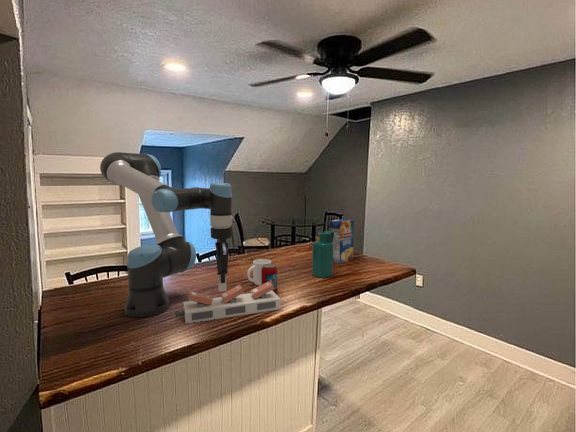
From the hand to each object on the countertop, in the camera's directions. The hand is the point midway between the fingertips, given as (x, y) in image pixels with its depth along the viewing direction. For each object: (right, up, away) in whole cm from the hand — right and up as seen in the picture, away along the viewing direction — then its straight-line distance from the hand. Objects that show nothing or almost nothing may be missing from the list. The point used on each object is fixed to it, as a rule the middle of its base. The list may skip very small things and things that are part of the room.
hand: (222, 290), depth 118 cm
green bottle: (+42, -3, +45) cm, 62 cm away
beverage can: (+16, -6, +21) cm, 27 cm away
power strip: (+2, -8, +1) cm, 8 cm away
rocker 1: (-7, -2, -3) cm, 8 cm away
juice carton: (+55, +1, +73) cm, 92 cm away
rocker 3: (+14, -1, +5) cm, 15 cm away
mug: (+10, -4, +32) cm, 34 cm away
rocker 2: (+3, -1, +1) cm, 4 cm away
